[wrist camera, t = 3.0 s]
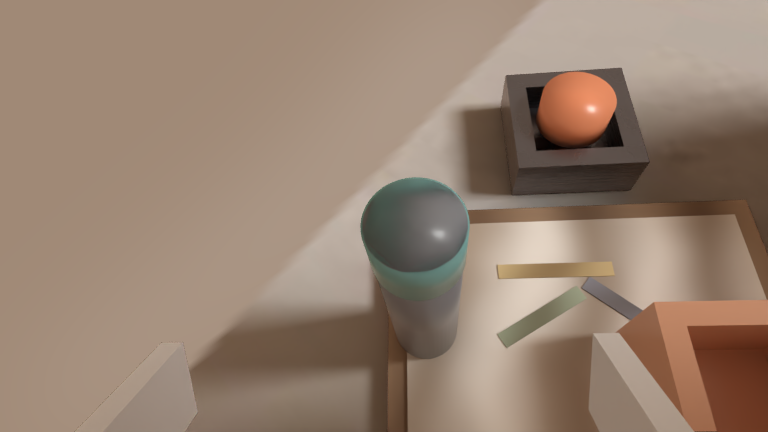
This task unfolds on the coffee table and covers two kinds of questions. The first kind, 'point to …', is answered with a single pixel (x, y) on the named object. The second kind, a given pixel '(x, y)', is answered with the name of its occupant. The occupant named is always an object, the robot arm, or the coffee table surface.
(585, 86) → the button
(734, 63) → the coffee table surface
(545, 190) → the button housing
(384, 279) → the marker
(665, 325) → the pen cup
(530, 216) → the board
